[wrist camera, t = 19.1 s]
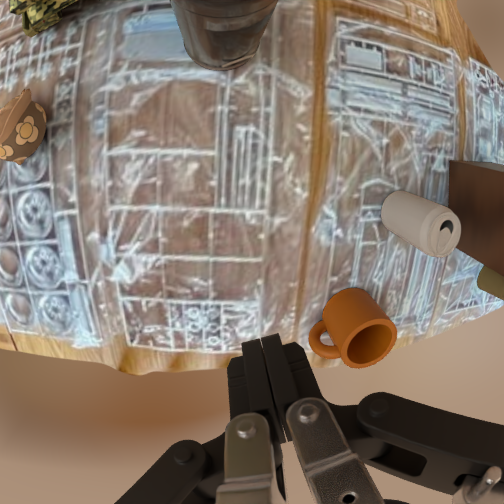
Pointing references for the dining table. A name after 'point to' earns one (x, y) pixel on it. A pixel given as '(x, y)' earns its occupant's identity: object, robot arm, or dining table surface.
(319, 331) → the mug
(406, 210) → the beverage can
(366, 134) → the dining table surface
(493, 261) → the box
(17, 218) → the dining table surface
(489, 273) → the pepper shaker
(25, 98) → the action figure
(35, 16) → the toy tank
